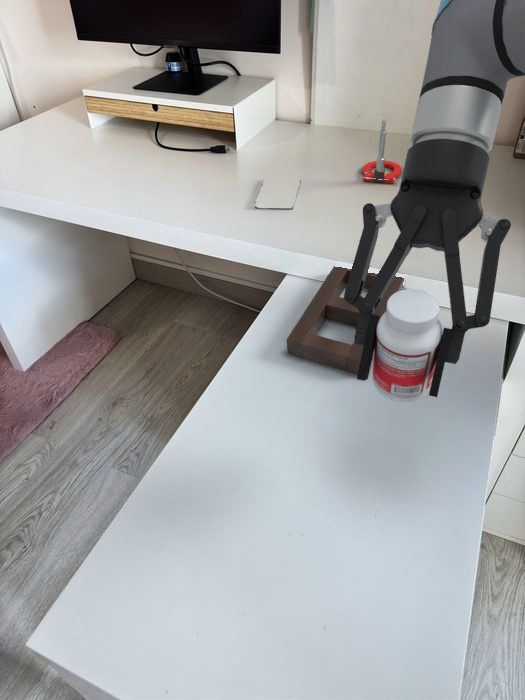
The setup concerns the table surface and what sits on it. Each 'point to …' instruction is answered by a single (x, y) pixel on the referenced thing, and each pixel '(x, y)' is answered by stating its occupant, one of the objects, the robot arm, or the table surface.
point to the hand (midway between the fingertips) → (397, 386)
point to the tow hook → (381, 163)
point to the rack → (335, 309)
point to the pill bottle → (407, 346)
